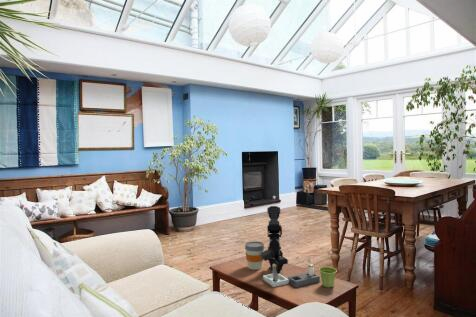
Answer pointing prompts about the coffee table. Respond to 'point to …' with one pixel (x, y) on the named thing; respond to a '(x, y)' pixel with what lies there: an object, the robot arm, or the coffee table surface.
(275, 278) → the cream capped cylinder
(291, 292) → the coffee table surface
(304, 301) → the coffee table surface
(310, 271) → the cylinder
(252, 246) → the reusable coffee cup
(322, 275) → the plant pot
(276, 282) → the parts tray
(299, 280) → the fuse holder
